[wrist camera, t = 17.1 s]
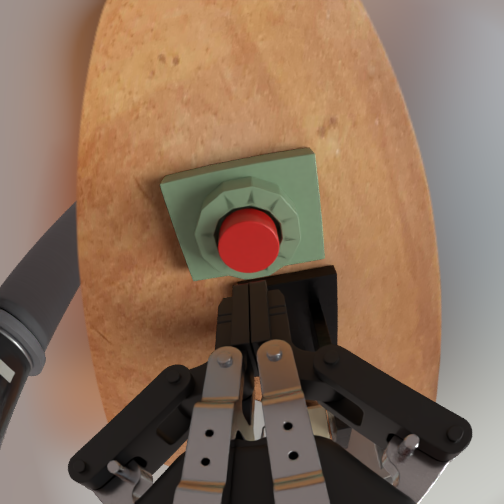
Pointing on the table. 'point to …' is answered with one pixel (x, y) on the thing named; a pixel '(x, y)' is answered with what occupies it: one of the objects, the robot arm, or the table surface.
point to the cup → (368, 454)
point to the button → (248, 241)
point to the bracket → (312, 319)
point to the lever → (318, 418)
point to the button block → (247, 197)
